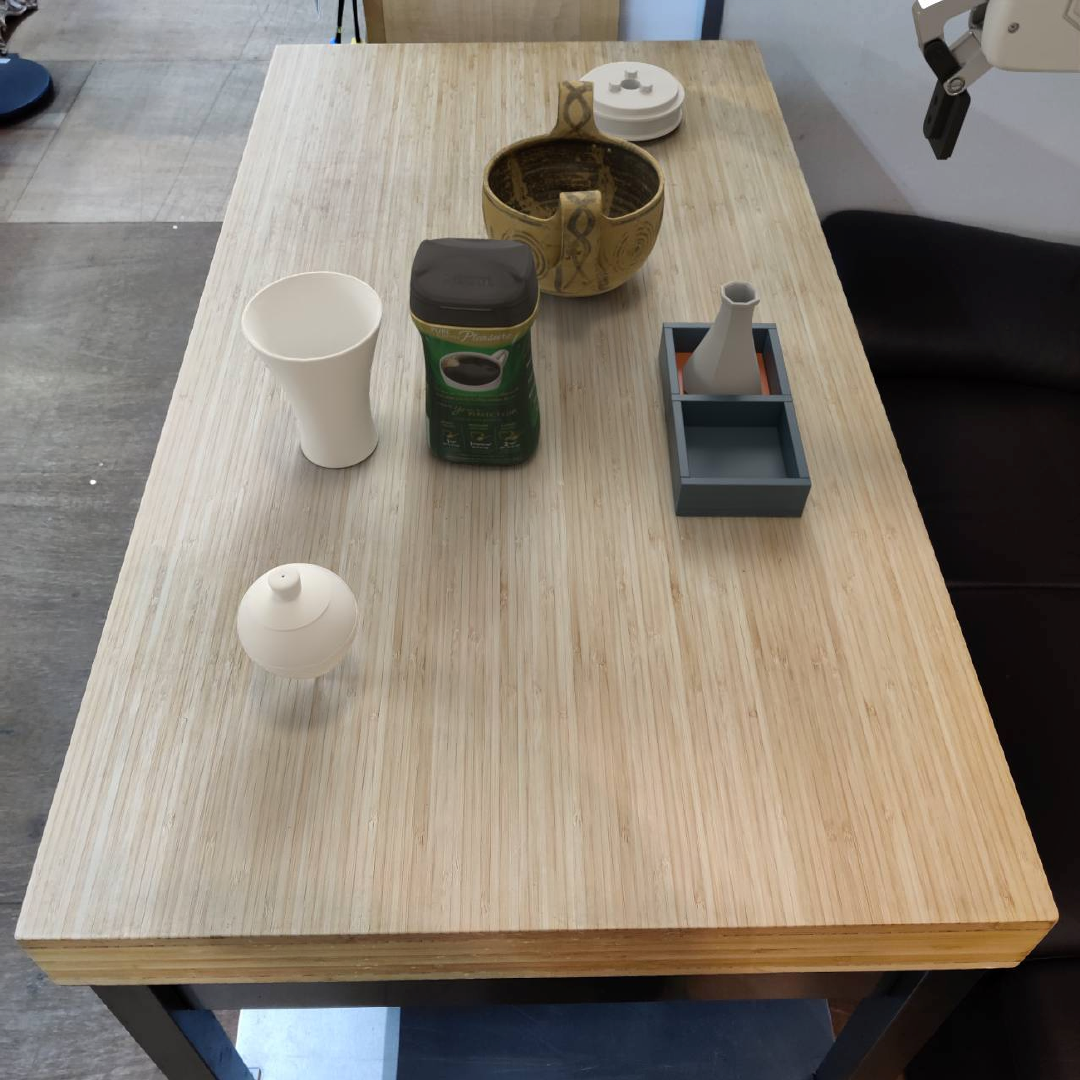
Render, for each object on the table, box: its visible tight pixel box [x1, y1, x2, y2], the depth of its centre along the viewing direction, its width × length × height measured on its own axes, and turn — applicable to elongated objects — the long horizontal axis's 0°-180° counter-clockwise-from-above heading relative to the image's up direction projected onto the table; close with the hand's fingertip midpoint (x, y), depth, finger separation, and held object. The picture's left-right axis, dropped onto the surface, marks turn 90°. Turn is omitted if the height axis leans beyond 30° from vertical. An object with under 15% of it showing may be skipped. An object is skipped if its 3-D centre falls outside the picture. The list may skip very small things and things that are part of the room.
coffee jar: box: [408, 237, 541, 467], centre depth 77 cm, size 10×8×19 cm
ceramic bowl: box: [481, 79, 666, 298], centre depth 92 cm, size 22×17×15 cm
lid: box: [578, 61, 686, 142], centre depth 115 cm, size 13×13×5 cm
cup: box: [240, 270, 384, 469], centre depth 78 cm, size 10×10×14 cm
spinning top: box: [236, 562, 359, 681], centre depth 65 cm, size 8×8×12 cm
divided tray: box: [658, 321, 812, 518], centre depth 83 cm, size 19×10×4 cm, turn 0°
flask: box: [683, 280, 763, 395], centre depth 83 cm, size 7×7×10 cm
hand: (1015, 148), depth 60 cm, fingers open, 9 cm apart
